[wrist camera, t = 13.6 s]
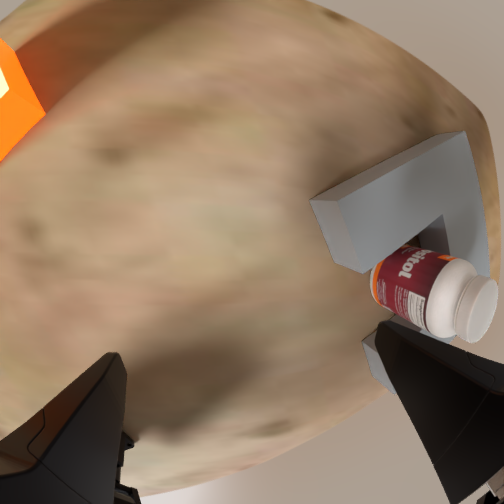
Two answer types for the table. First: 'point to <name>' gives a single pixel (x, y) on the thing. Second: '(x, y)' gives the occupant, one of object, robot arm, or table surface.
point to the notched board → (407, 215)
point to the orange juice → (15, 101)
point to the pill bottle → (435, 292)
